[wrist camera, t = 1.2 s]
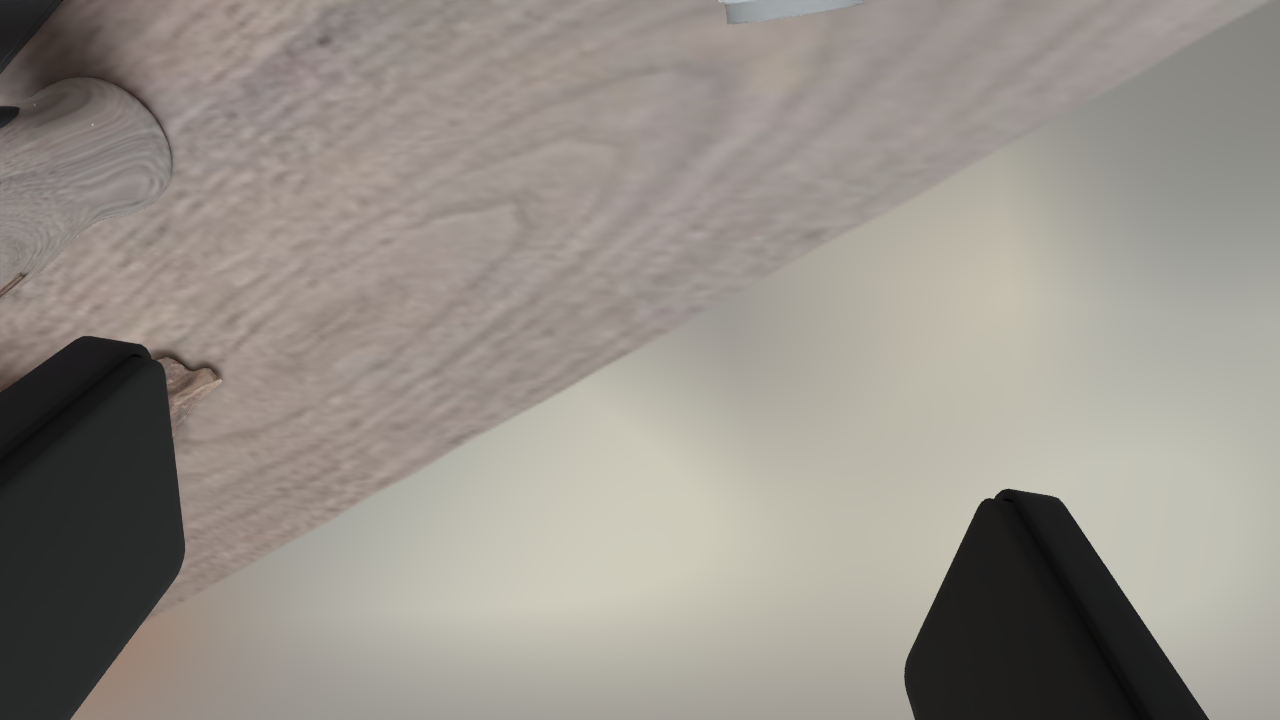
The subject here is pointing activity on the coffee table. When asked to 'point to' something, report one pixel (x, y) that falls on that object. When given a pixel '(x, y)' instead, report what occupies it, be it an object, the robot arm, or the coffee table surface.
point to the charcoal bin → (21, 24)
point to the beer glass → (72, 169)
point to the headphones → (778, 8)
